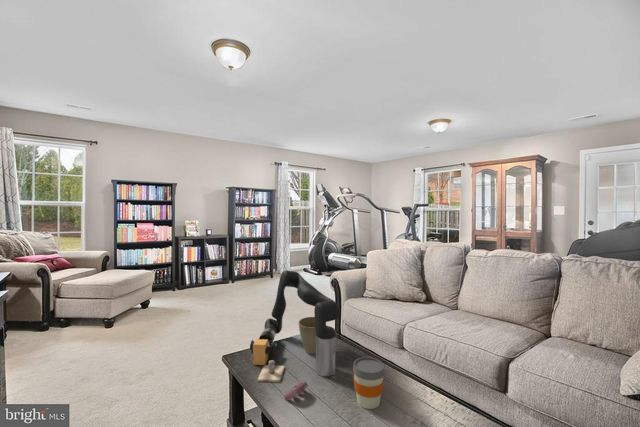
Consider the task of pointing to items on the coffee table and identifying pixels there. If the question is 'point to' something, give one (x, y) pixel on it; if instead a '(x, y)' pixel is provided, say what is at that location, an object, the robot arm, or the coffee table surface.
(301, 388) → the video game controller
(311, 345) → the plant pot
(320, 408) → the coffee table surface
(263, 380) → the flat beige base block
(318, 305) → the robot arm
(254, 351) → the tall orange pillar
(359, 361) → the reusable coffee cup
